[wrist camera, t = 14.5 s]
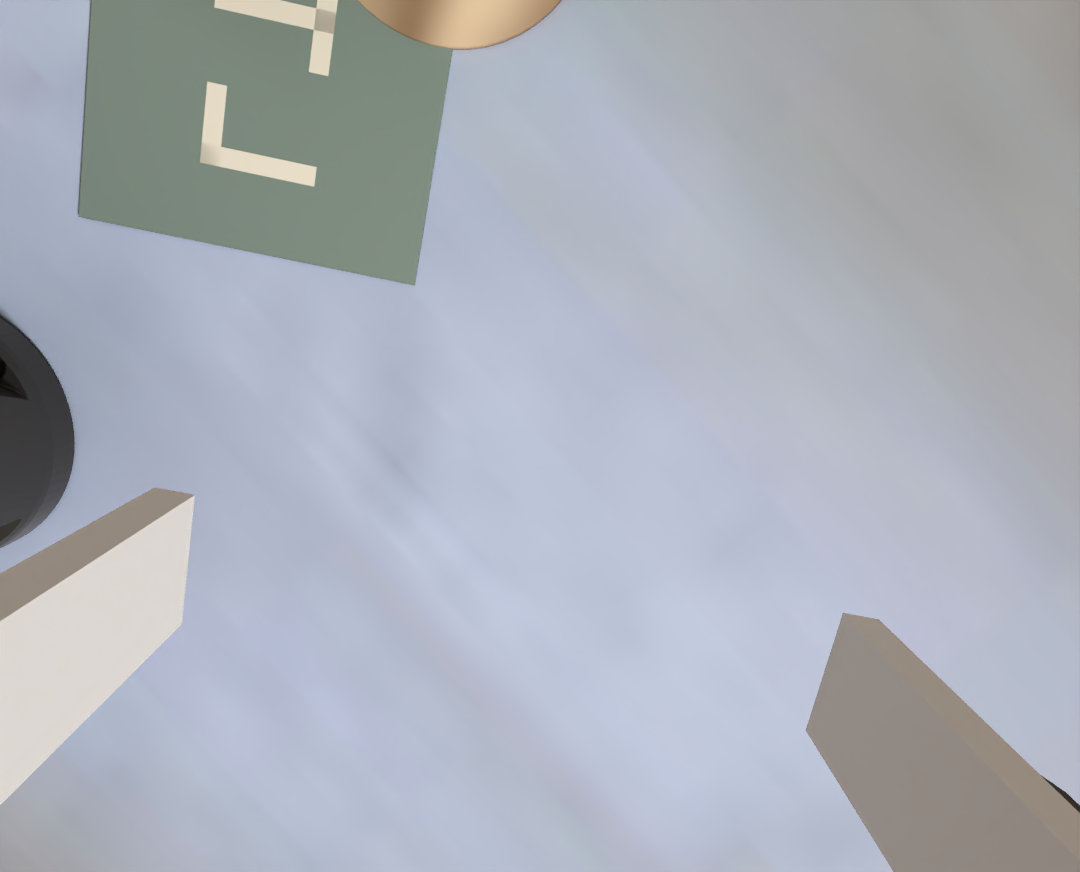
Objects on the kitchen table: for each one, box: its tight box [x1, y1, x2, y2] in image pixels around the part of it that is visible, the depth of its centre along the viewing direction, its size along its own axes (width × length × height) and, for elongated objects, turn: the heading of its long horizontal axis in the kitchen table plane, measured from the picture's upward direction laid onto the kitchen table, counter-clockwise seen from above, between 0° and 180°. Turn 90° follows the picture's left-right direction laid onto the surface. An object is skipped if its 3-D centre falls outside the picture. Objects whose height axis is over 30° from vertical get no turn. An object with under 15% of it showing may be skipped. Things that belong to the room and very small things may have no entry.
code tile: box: [79, 0, 453, 285], centre depth 36 cm, size 18×18×1 cm
